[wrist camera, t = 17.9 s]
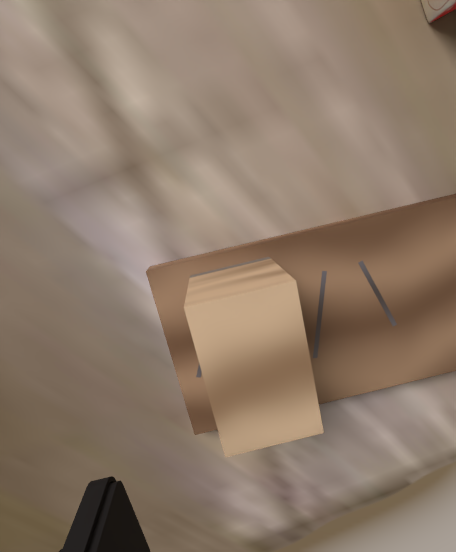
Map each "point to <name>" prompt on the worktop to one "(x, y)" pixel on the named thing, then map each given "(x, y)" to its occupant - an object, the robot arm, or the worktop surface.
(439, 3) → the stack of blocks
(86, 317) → the worktop surface
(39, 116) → the worktop surface
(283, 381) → the block
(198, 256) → the board
